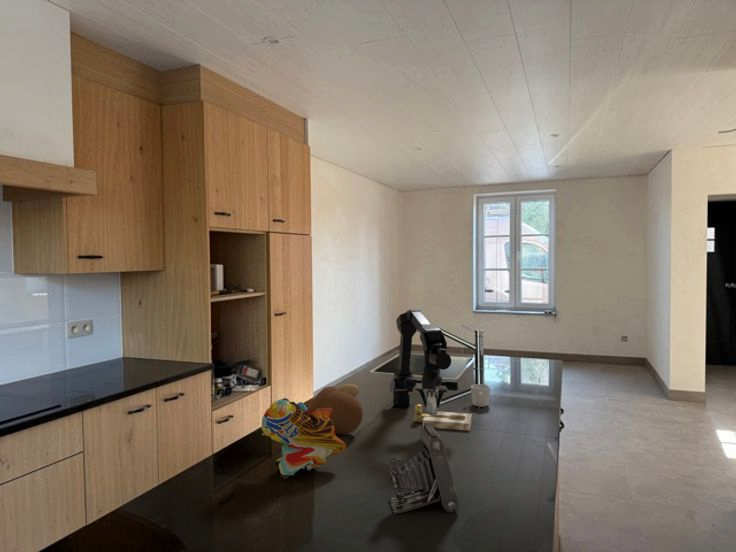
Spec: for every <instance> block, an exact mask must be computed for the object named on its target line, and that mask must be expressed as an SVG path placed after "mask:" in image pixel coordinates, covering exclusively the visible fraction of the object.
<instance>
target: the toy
mask: <svg viewBox="0 0 736 552" xmlns="http://www.w3.org/2000/svg"><path fill="white" fill-rule="evenodd" d="M359 392H360V390H359V387H358V386H357V385H356V384H352V383H345V384H342V385H341V386H340V387H339V388H338V387H335V386H332V385H330V386H325V387H324V388H322V389H321V390H319V392H318V393H317V394H316V396H314V399H313V400H312V401H311V403H310V404H309V406H308V408H307V409H308V410H313V409H320V408H332V409H333V412H332V413H331V416H330V419H331V420H332V422H333V426H334V429H335V435H336V434H337V435H347V434H350V433H353V432H355V431H356V430H357V429H358V428H359V427H360V425H361V423H362V421H363V416H364V410H363V406H362V404H361V402H360V401H359V400H358V399H357V398H356V397H357V396H358V395H359Z"/></svg>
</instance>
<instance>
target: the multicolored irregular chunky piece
mask: <svg viewBox="0 0 736 552" xmlns="http://www.w3.org/2000/svg"><path fill="white" fill-rule="evenodd" d="M308 409H309V408H307V406H306V405H305V403H303V402H302V401H299V402H297V403H296V402H295V401H290V400H289V399H288V398H286V397H284V398H281V399H277V400H274V401H273V402H272V403H271V404H270V405H269V407H268V408H267V409H266V411H265V412H264V413H263V415H262V418H261V430H262V432H263V433H262V434H261V436H266V437H269V438H270V439H271V440H274V441H275V442H278V443H281V444H282V446H281V457H279V458H278V459H277V460H276V462H279V463H278V467H279V471H280V475H281V474H283V475H292V476H293V475H295V474H296V473H297V472H298V471H299V470H301V469H303V470H305V468H306V469H307V471H310V470H312V469H315V468H314V467H317V468H321V467H322V466H323V465H326V463H327V456H333V455H337V454H341V453H343V452H344V451H345V450H346V448H347V445H346V443H345V442H344V441H343V440H342V439H340V437H338V436H337V435H336V433H335V429H334V426H333V422H332V420H331V419H330V416H331V413H332V412H333V409H332V408H320V409H313V410H308Z"/></svg>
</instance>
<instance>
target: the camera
mask: <svg viewBox="0 0 736 552" xmlns="http://www.w3.org/2000/svg"><path fill="white" fill-rule="evenodd" d="M419 432H420V433H419V435H420V440H421V443H422V447H423V450H421V451H419V452H418V453H417V454H415V455H413V457H412V458H409V459H407V460H406V462H404V463H401V464H400V459H399V457H392V458H389V459H388V461H389V463H388V469H389V472H390V476H388V480H389V483H390V486H391V487H393V490H398V491H397V493H396V496H393V497H390V498H388V501H389V500H390V499H391V500H393V501H392V504H391V505H390V507H391V506H394V508H397V510H398V512H394V511H392V513H393V512H394V513H399V514H402V513H404V512H405V513H406V512H408V511H409V512H410V511H413V510H416V509H419V508H422V507H425V506H427V505H431V504H433V503H438V502H440V503H441V505H442V507H443V508H444V511H445V512H448V513H449V512H451V511H455V512H456V511H457V510H458V509H459V507H460V501H459V499H458V498H459V497H458V495H457V491H456V487H455V482H454V478H453V474H452V469H451V465H450V462H449V458H448V454H447V446H446V442H444V439H443V438H442V437H441V436H440V434H439V433H438V432H437V431H436V428H433V427H432V426H431V425H429V423H424V426H423V425H422V428H421V429H420V431H419ZM399 464H400V466H398V465H399ZM402 490H410V492H406V493H403V492H402ZM411 490H414V491H411ZM390 503H391V502H389V504H390ZM392 509H393V508H391V510H392Z"/></svg>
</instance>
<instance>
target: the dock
mask: <svg viewBox="0 0 736 552" xmlns="http://www.w3.org/2000/svg"><path fill="white" fill-rule="evenodd" d="M425 414H427V413H425ZM424 423H429V425H431V426H432V427H433V428H434V429H444V430H445V429H446V430H457V431H458V430H459V431H470V430H471V427H472V423H473V413H464V412H452V411H451V412H449V411H438V414H436V415H431V417H424V418H423V422H422V427H423V426H424Z"/></svg>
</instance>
